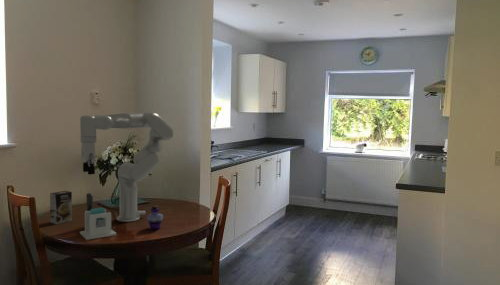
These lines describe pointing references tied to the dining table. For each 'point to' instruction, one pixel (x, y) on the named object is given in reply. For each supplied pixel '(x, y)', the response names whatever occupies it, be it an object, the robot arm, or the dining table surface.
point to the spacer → (97, 211)
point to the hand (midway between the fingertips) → (88, 172)
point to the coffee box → (60, 207)
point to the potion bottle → (154, 218)
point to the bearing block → (94, 230)
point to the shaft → (90, 206)
